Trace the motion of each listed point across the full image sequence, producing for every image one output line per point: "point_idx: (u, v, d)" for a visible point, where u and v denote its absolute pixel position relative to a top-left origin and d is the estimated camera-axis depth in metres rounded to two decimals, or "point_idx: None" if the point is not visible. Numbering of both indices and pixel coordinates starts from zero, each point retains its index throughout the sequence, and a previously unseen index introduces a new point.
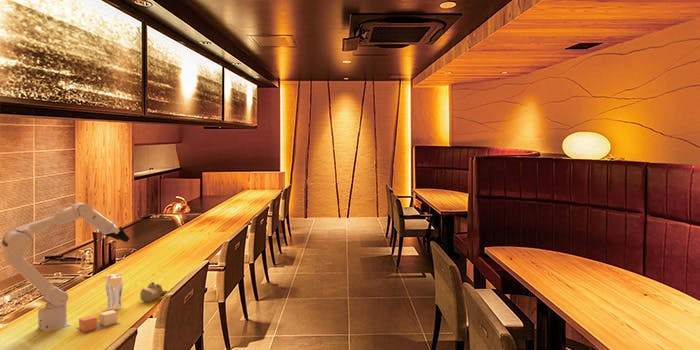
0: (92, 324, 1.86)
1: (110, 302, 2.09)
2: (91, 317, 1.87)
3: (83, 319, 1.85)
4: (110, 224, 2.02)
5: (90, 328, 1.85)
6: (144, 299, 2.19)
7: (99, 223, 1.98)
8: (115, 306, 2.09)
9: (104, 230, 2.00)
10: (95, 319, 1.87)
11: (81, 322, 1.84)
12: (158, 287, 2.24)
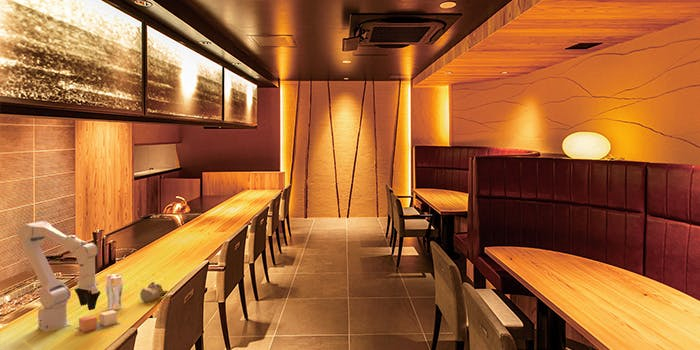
0: (92, 324, 1.86)
1: (110, 302, 2.09)
2: (91, 317, 1.87)
3: (83, 319, 1.85)
4: (93, 282, 1.85)
5: (90, 328, 1.85)
6: (144, 299, 2.19)
7: (80, 273, 1.83)
8: (115, 306, 2.09)
9: (84, 283, 1.83)
10: (95, 319, 1.87)
11: (81, 322, 1.84)
12: (158, 287, 2.24)
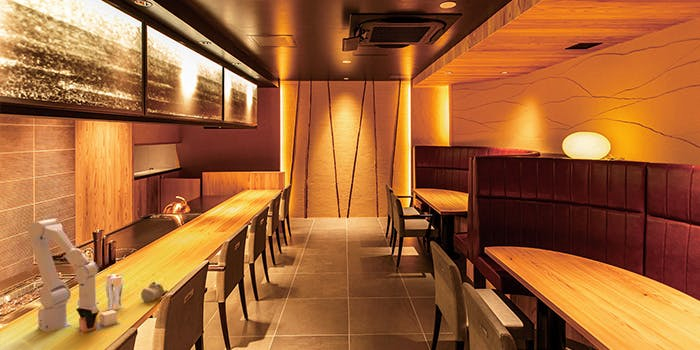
0: None
1: (110, 302, 2.09)
2: None
3: (83, 319, 1.85)
4: (93, 302, 1.86)
5: (90, 328, 1.85)
6: (145, 299, 2.19)
7: (80, 293, 1.83)
8: (115, 306, 2.09)
9: (84, 303, 1.83)
10: (95, 319, 1.87)
11: (81, 322, 1.84)
12: (159, 287, 2.24)
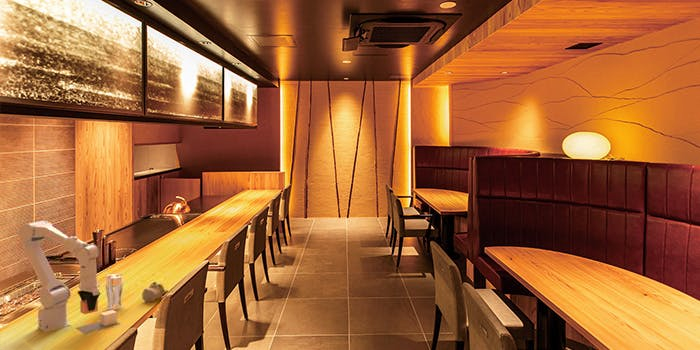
0: None
1: (110, 302, 2.09)
2: None
3: (84, 302, 1.85)
4: (94, 284, 1.85)
5: (91, 311, 1.85)
6: (146, 299, 2.19)
7: (81, 275, 1.83)
8: (115, 306, 2.09)
9: (85, 285, 1.83)
10: (96, 302, 1.87)
11: (82, 304, 1.84)
12: (160, 287, 2.24)
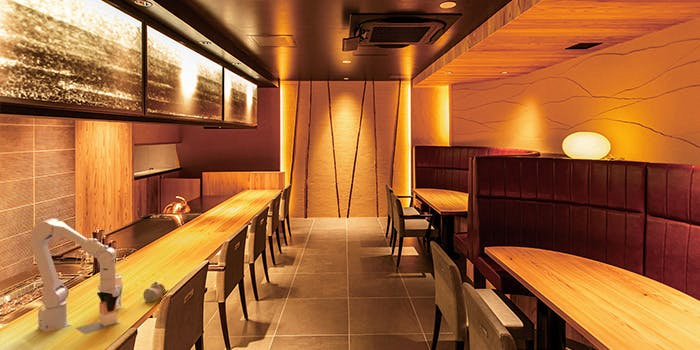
0: None
1: None
2: None
3: (103, 303, 1.90)
4: (114, 286, 1.91)
5: (110, 312, 1.91)
6: (148, 299, 2.19)
7: (103, 277, 1.89)
8: None
9: (105, 287, 1.89)
10: None
11: (101, 306, 1.90)
12: (161, 287, 2.25)
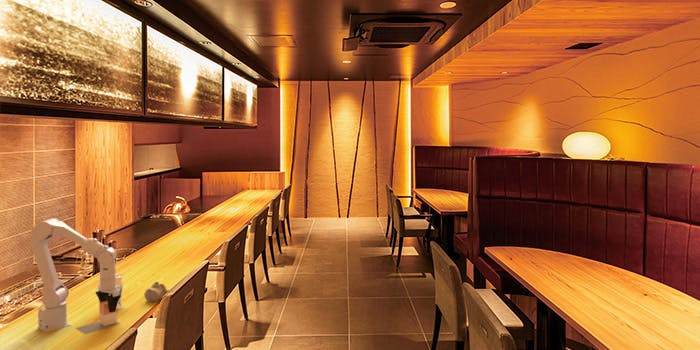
0: None
1: None
2: None
3: (103, 303, 1.90)
4: (114, 286, 1.91)
5: None
6: (149, 299, 2.19)
7: (103, 277, 1.89)
8: None
9: (105, 287, 1.89)
10: None
11: (101, 306, 1.90)
12: (162, 287, 2.25)
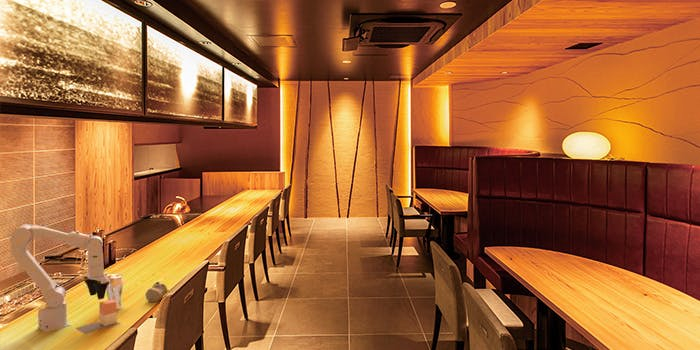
0: (112, 308, 1.92)
1: None
2: (111, 301, 1.93)
3: (103, 303, 1.90)
4: (102, 273, 1.94)
5: (110, 312, 1.91)
6: (151, 299, 2.19)
7: (93, 265, 1.91)
8: None
9: (93, 274, 1.92)
10: (115, 303, 1.93)
11: (101, 306, 1.90)
12: (163, 286, 2.25)
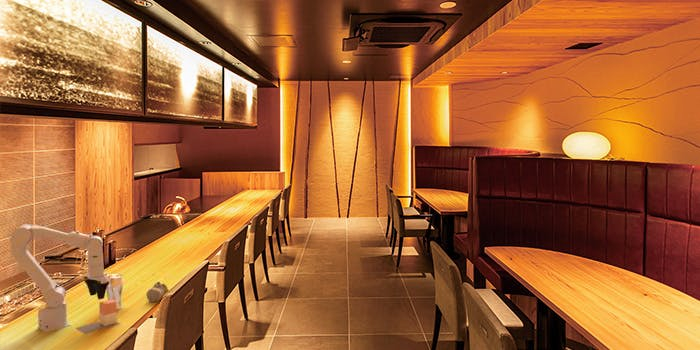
0: (112, 308, 1.92)
1: None
2: (111, 301, 1.93)
3: (103, 303, 1.90)
4: (102, 273, 1.94)
5: (110, 312, 1.91)
6: (152, 299, 2.19)
7: (93, 265, 1.91)
8: None
9: (93, 274, 1.92)
10: (115, 303, 1.93)
11: (101, 306, 1.90)
12: (164, 286, 2.25)
